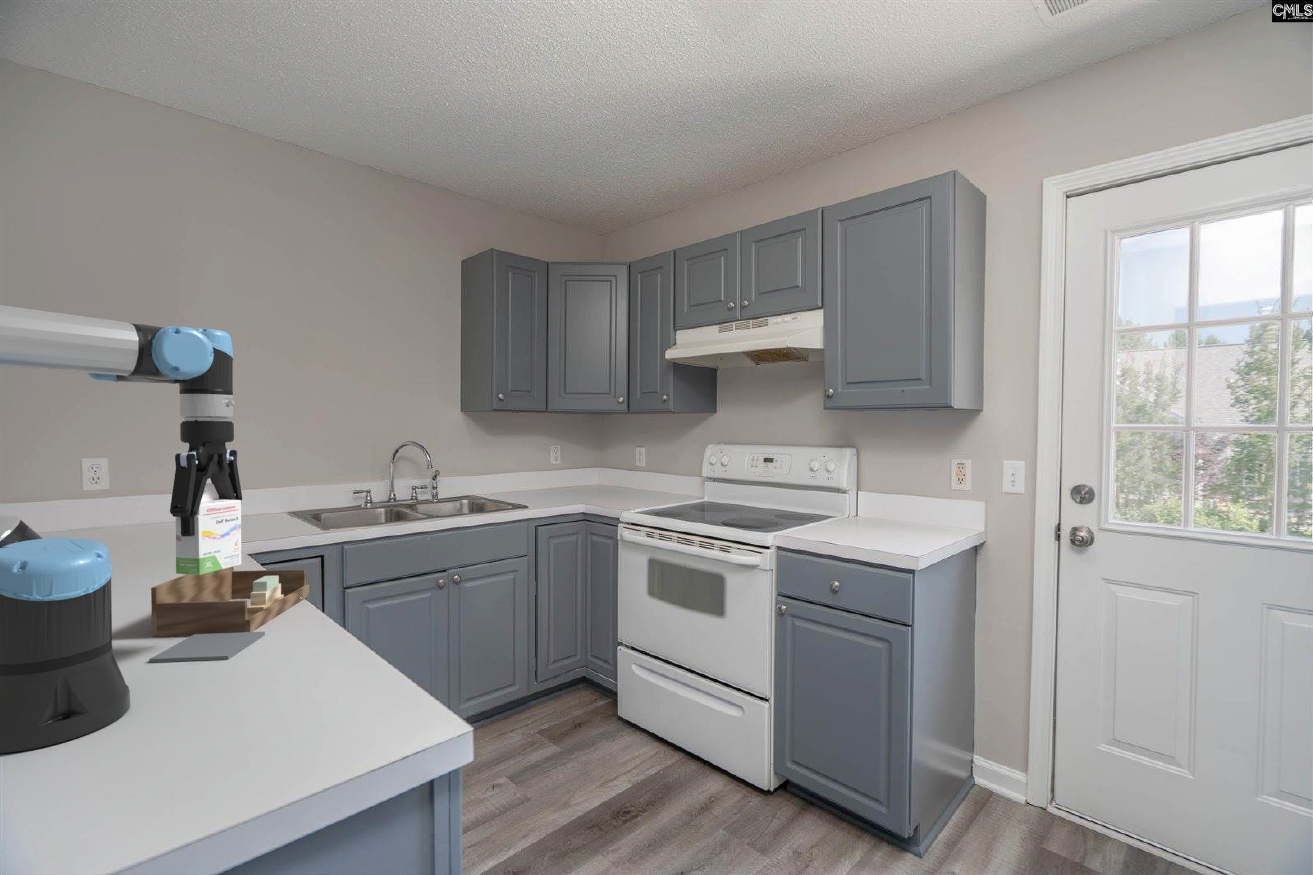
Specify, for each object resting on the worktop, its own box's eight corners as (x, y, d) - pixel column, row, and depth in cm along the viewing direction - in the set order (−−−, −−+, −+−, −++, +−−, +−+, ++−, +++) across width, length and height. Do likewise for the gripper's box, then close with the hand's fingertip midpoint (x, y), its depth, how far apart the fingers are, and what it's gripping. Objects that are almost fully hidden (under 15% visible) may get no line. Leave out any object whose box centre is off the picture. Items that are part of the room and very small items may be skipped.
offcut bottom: (263, 622, 123) (263, 607, 123) (247, 622, 123) (247, 607, 123) (284, 608, 132) (284, 594, 132) (268, 609, 132) (268, 595, 132)
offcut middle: (265, 605, 125) (265, 592, 125) (250, 605, 124) (250, 593, 124) (281, 595, 131) (280, 583, 131) (266, 595, 131) (266, 584, 131)
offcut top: (266, 591, 125) (266, 581, 125) (253, 591, 125) (252, 582, 125) (278, 585, 130) (278, 575, 130) (265, 585, 130) (265, 575, 130)
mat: (228, 659, 103) (228, 655, 103) (149, 662, 101) (149, 659, 101) (264, 634, 115) (264, 631, 115) (194, 637, 113) (194, 634, 113)
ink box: (199, 576, 103) (197, 487, 103) (174, 574, 104) (173, 486, 104) (243, 564, 112) (242, 482, 111) (220, 563, 113) (219, 481, 112)
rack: (250, 633, 116) (249, 585, 116) (152, 636, 114) (151, 587, 114) (309, 595, 141) (309, 556, 141) (230, 597, 139) (229, 557, 139)
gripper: (191, 419, 97) (193, 562, 97) (263, 419, 119) (264, 536, 119) (138, 419, 96) (141, 564, 96) (220, 419, 118) (222, 537, 118)
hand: (209, 549), depth 108 cm, fingers closed on ink box, 9 cm apart
